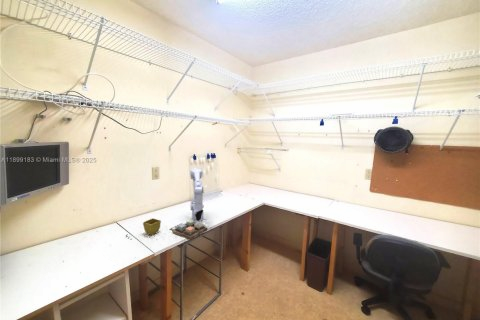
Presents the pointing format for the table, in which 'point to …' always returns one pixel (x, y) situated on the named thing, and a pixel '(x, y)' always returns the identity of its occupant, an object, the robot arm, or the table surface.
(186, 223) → the key sage
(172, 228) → the card
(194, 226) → the key cream
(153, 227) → the flower pot
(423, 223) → the table surface
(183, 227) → the key slate
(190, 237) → the keypad
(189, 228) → the key terracotta
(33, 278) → the table surface
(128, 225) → the table surface
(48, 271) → the table surface
